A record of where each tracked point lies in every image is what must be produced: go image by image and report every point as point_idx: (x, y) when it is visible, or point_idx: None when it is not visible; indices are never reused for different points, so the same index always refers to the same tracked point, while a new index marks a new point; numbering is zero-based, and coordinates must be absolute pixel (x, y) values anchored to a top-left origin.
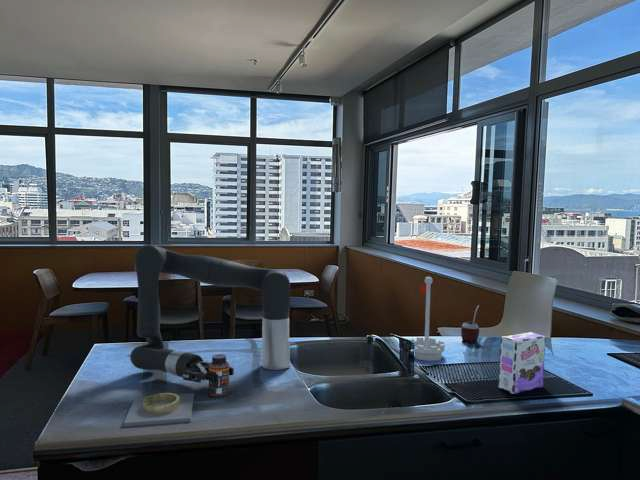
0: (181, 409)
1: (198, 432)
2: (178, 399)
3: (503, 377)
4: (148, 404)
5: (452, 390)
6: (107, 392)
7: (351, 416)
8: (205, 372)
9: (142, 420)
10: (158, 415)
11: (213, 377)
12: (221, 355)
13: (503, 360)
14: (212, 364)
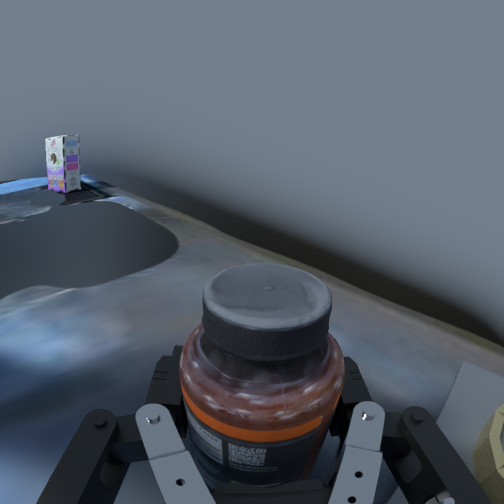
0: (476, 413)
1: (452, 329)
2: (496, 415)
3: (70, 178)
4: None
5: (74, 203)
6: None
7: (196, 228)
8: (371, 404)
9: None
10: None
11: (349, 362)
12: (245, 283)
13: (68, 160)
14: (330, 349)
